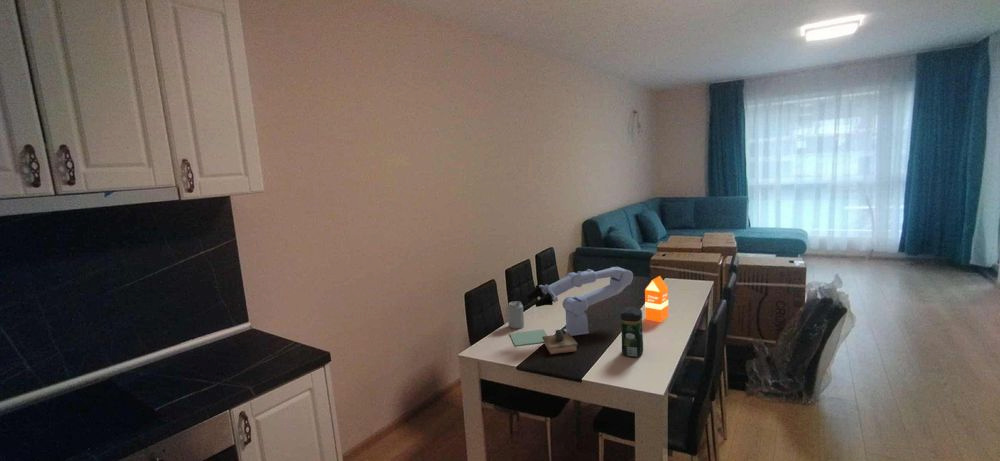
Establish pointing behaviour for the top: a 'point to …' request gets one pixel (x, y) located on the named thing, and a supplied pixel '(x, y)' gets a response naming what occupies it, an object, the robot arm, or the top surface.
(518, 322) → the can
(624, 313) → the coffee jar
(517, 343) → the mat
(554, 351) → the pink square tray
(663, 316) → the orange juice
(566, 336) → the cover
